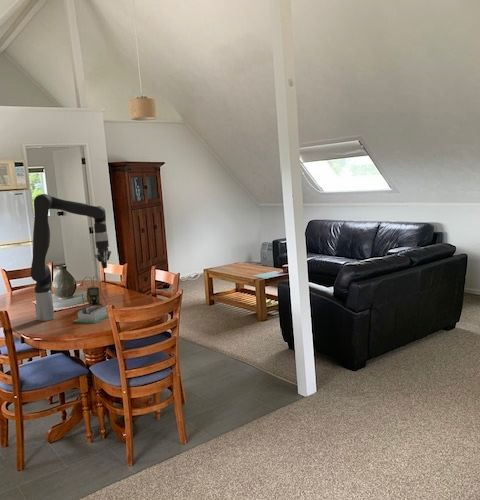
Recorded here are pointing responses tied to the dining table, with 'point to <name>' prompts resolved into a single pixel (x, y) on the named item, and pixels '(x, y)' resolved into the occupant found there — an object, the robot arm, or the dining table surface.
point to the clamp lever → (94, 308)
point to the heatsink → (92, 315)
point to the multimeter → (93, 294)
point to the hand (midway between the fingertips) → (104, 268)
